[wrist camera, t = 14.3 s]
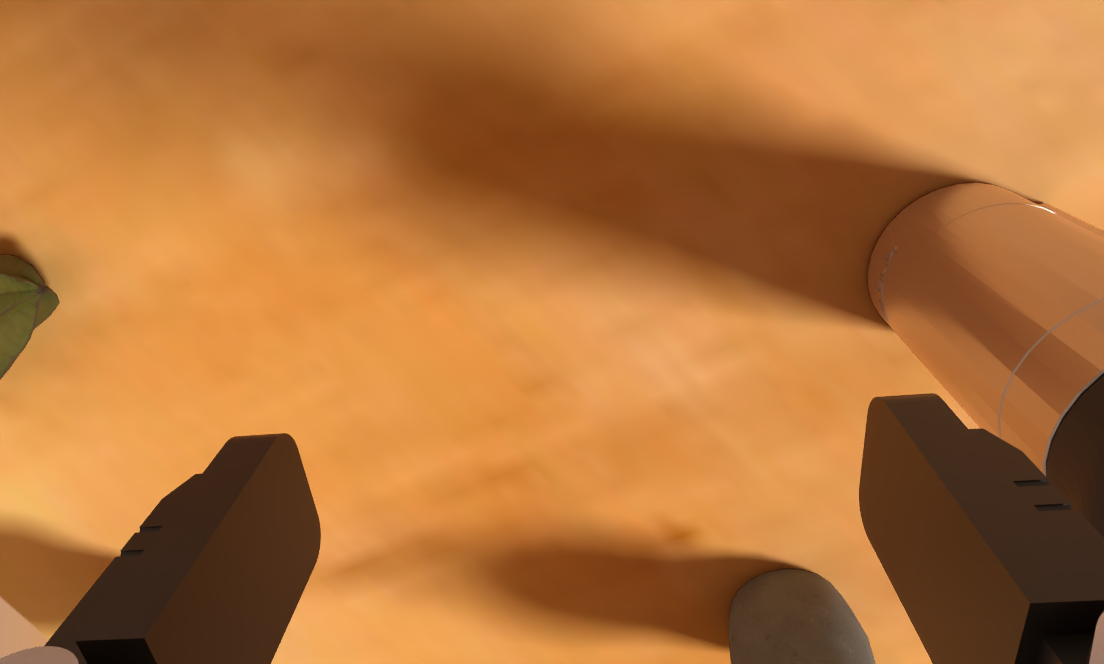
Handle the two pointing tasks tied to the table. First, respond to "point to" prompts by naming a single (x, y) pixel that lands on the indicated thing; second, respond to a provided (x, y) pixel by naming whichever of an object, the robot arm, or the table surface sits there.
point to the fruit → (20, 307)
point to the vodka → (794, 622)
